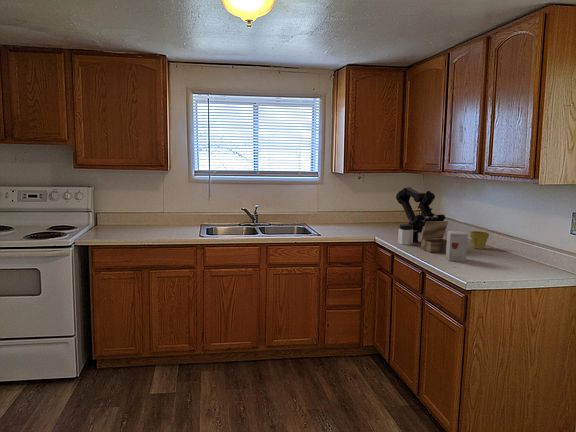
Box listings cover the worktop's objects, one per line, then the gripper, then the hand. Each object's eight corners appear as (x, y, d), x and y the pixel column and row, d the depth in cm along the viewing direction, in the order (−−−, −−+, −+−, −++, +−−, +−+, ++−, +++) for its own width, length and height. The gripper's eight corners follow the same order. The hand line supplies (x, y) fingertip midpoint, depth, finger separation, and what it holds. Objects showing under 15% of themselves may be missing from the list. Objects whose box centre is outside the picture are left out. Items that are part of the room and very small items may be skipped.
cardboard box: (420, 248, 290) (421, 239, 289) (441, 248, 293) (442, 238, 292) (430, 253, 278) (431, 243, 278) (452, 252, 281) (453, 242, 281)
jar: (398, 244, 304) (399, 225, 302) (397, 242, 312) (398, 223, 310) (412, 245, 302) (413, 226, 300) (412, 242, 310) (413, 224, 308)
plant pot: (479, 246, 302) (480, 230, 301) (491, 249, 292) (492, 233, 291) (465, 247, 298) (466, 231, 297) (478, 250, 289) (479, 234, 288)
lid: (421, 239, 289) (421, 238, 290) (442, 238, 292) (442, 237, 293) (426, 222, 283) (426, 221, 283) (448, 221, 286) (447, 221, 286)
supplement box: (448, 261, 258) (450, 233, 256) (445, 257, 267) (446, 230, 265) (466, 261, 257) (468, 233, 255) (462, 258, 265) (464, 231, 264)
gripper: (434, 217, 306) (442, 237, 297) (406, 218, 302) (414, 238, 293) (441, 206, 297) (450, 226, 288) (413, 206, 293) (421, 227, 284)
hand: (433, 230), depth 288 cm, fingers closed
